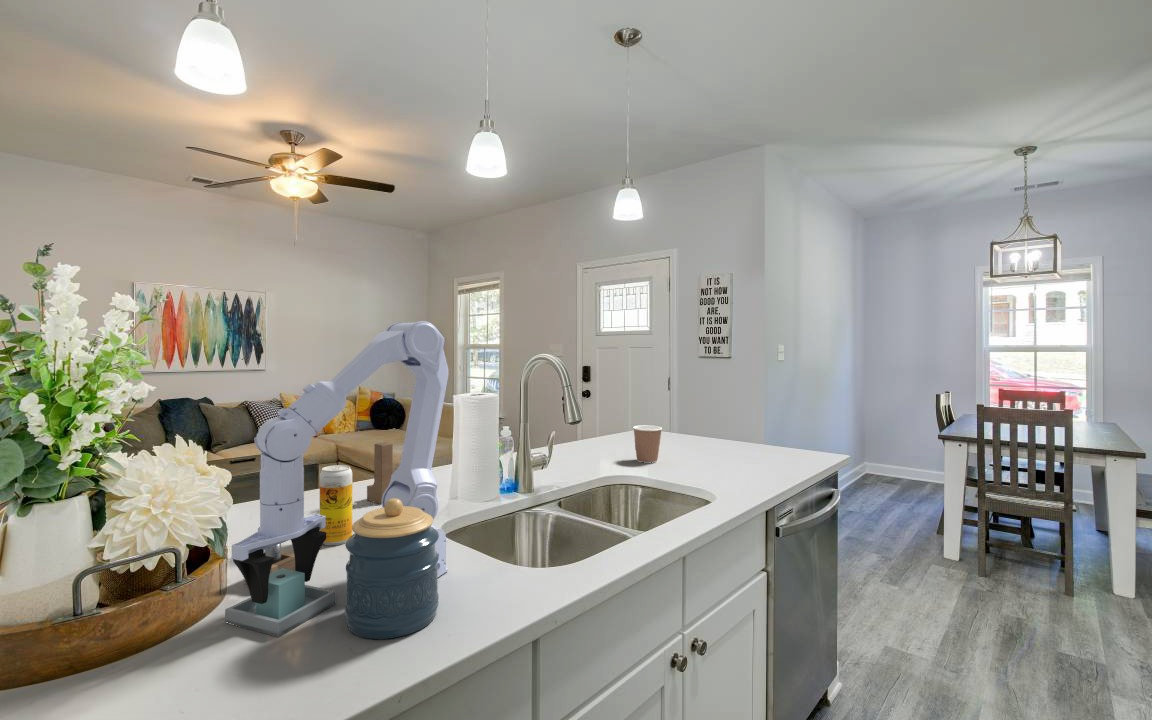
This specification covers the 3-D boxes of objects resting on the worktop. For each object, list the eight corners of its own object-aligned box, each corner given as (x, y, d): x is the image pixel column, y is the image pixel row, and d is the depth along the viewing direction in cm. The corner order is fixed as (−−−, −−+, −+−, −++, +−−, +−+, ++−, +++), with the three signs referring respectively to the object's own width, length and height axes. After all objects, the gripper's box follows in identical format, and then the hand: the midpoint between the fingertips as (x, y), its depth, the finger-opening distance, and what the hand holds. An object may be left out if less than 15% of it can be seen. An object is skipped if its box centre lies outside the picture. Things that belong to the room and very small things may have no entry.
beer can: (316, 547, 106) (316, 472, 105) (322, 537, 112) (322, 465, 111) (350, 545, 107) (350, 470, 107) (354, 534, 113) (354, 463, 113)
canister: (331, 616, 79) (331, 497, 79) (412, 589, 88) (413, 482, 88) (368, 653, 70) (369, 518, 70) (455, 618, 79) (456, 499, 79)
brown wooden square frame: (301, 575, 93) (302, 554, 93) (271, 590, 87) (271, 568, 87) (276, 570, 95) (276, 550, 95) (244, 584, 90) (244, 562, 89)
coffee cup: (646, 457, 197) (646, 424, 197) (667, 461, 189) (668, 427, 189) (626, 460, 191) (626, 426, 190) (647, 465, 183) (648, 430, 183)
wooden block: (392, 502, 137) (393, 443, 137) (381, 504, 134) (381, 445, 134) (378, 497, 141) (378, 440, 141) (366, 500, 138) (366, 442, 138)
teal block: (304, 605, 81) (304, 572, 81) (278, 619, 77) (278, 584, 77) (282, 600, 83) (282, 567, 83) (256, 613, 79) (256, 579, 79)
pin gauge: (284, 578, 92) (284, 538, 91) (270, 584, 90) (270, 542, 89) (276, 575, 93) (275, 535, 93) (262, 581, 91) (261, 540, 91)
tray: (335, 603, 83) (335, 591, 83) (278, 637, 73) (278, 622, 73) (285, 592, 87) (285, 580, 87) (225, 623, 77) (225, 609, 77)
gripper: (301, 485, 88) (301, 567, 88) (215, 510, 74) (215, 607, 74) (335, 489, 85) (335, 574, 86) (253, 516, 72) (253, 617, 72)
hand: (282, 590), depth 80 cm, fingers open, 7 cm apart
